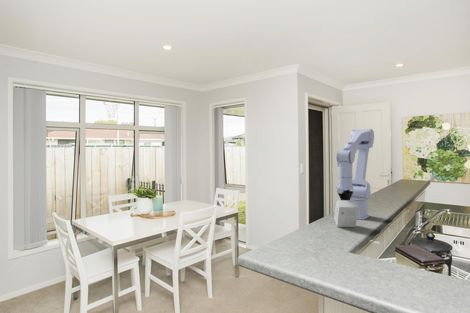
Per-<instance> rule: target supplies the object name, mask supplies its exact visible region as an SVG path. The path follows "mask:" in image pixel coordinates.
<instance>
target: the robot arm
mask: <svg viewBox="0 0 470 313" xmlns="http://www.w3.org/2000/svg"><path fill="white" fill-rule="evenodd" d="M374 142H375V132H374V129H373V128H370V129H369V128H368V129H366V128H365V129H352V131H350V141H347V142H346V144H345V145H344V146H343V147H342V150H341V149H340V150H339V151H337V153H336V157H335V158H336V163H337V167H338V185H336V187H335V189H336V193H337V195H338V196H339V199H340V200H355V202H356V204H357V206H358V214H357V220H358V219H359V220H366V219H369V217H371V214H369V202H368V200H369V199H370V197H371V193H372V192H371V184H370V183H369V182H368V181H366V177H367V176H366V175H367V174H366V173H367V168H368V167H367V166H368V160H369V152H370V149H371V148H373V146H374ZM357 152H358V153H357ZM356 154H357V158H356ZM355 158H356V166H355V171H354V172H355V173H354V178H353V164H354V162H355Z"/></svg>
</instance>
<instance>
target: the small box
mask: <svg viewBox="0 0 470 313" xmlns="http://www.w3.org/2000/svg"><path fill="white" fill-rule="evenodd" d="M334 208H335V209H334V216H333V218H334V219H333V220H334V222H335V225H336V227H337V228H356V225H357V220H358V219H357V214H358V206H357V204H356V202H355V200H351V199H350V200H341V199H340V200H339V199H337V200H336V201H335V207H334Z"/></svg>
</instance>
